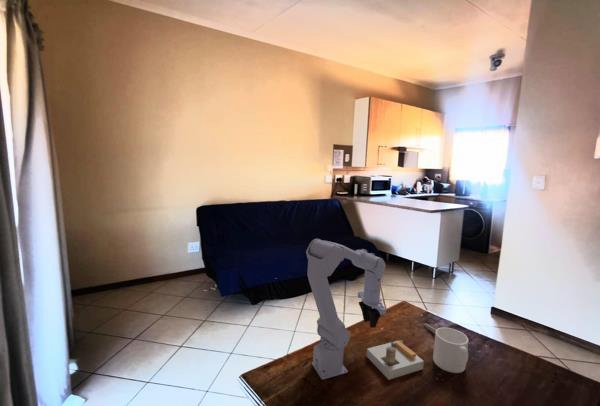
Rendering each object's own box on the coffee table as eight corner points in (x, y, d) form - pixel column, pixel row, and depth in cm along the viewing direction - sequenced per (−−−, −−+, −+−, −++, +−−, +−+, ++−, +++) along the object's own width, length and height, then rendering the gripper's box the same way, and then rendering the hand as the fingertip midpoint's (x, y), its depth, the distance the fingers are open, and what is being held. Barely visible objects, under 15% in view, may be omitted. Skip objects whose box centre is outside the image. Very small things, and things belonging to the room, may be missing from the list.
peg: (396, 370, 97) (397, 351, 96) (388, 372, 96) (390, 353, 95) (390, 364, 100) (391, 345, 99) (383, 366, 99) (384, 347, 98)
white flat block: (388, 379, 93) (389, 367, 93) (366, 356, 104) (367, 345, 104) (422, 369, 98) (423, 357, 98) (398, 347, 109) (399, 337, 109)
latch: (411, 358, 98) (411, 355, 98) (395, 345, 106) (395, 342, 106) (415, 357, 99) (416, 353, 99) (399, 344, 107) (399, 341, 106)
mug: (427, 354, 106) (429, 328, 105) (452, 353, 107) (455, 326, 106) (449, 380, 94) (452, 350, 92) (477, 378, 95) (481, 348, 94)
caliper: (457, 355, 106) (459, 339, 105) (455, 356, 106) (456, 340, 105) (424, 325, 126) (426, 311, 125) (422, 325, 126) (423, 311, 125)
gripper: (394, 295, 101) (391, 332, 103) (369, 279, 114) (367, 312, 116) (377, 298, 98) (374, 336, 100) (353, 281, 111) (351, 315, 113)
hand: (369, 323), depth 108 cm, fingers open, 3 cm apart
